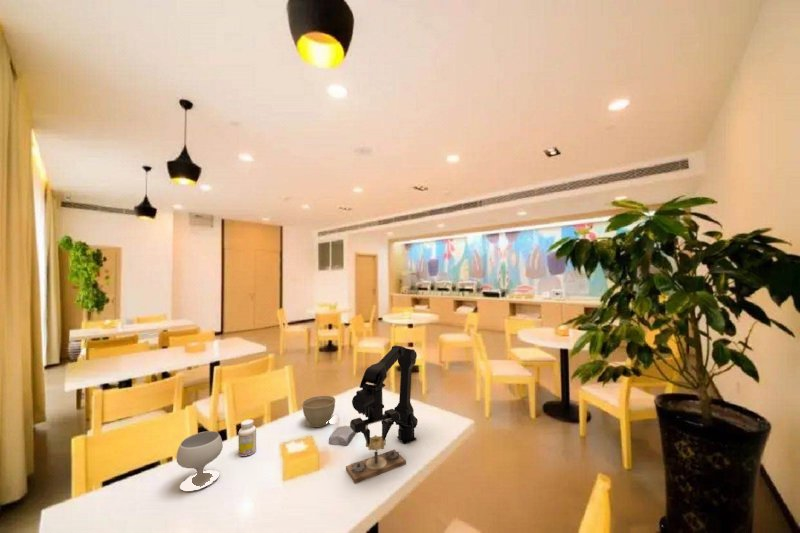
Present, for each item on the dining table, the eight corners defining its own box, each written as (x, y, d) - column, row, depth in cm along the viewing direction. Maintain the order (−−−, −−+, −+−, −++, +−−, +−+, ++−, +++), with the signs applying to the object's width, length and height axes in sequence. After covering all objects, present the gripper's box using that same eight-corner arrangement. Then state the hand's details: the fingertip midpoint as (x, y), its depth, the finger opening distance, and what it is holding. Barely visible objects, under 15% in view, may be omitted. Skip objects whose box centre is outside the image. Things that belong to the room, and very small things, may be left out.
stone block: (327, 449, 132) (348, 446, 130) (325, 438, 132) (346, 435, 130) (338, 436, 143) (358, 433, 141) (336, 426, 144) (356, 423, 142)
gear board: (394, 453, 124) (394, 439, 125) (405, 464, 117) (405, 449, 117) (345, 470, 114) (345, 455, 114) (354, 483, 106) (354, 467, 106)
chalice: (172, 500, 100) (172, 453, 100) (180, 476, 112) (180, 435, 113) (221, 486, 106) (221, 442, 107) (223, 465, 119) (223, 426, 119)
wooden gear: (380, 438, 120) (380, 433, 120) (388, 447, 114) (388, 441, 114) (363, 444, 117) (363, 438, 117) (371, 453, 111) (371, 447, 111)
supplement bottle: (246, 447, 131) (246, 417, 131) (259, 449, 129) (259, 418, 130) (234, 456, 124) (234, 424, 125) (248, 458, 123) (248, 426, 123)
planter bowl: (342, 420, 155) (342, 398, 155) (318, 434, 141) (317, 410, 141) (320, 413, 163) (320, 393, 164) (295, 426, 150) (295, 403, 150)
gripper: (386, 390, 128) (387, 427, 127) (344, 399, 118) (345, 440, 118) (400, 398, 118) (401, 439, 118) (355, 410, 109) (356, 454, 108)
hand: (375, 442), depth 116 cm, fingers closed on wooden gear, 6 cm apart
